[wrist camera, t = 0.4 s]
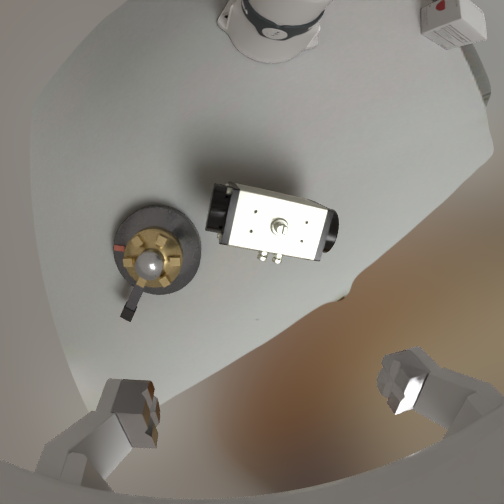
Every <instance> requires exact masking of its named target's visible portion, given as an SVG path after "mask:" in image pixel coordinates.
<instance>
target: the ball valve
mask: <svg viewBox="0 0 504 504" xmlns="http://www.w3.org/2000/svg"><path fill="white" fill-rule="evenodd" d="M338 229H339V219H338V215H337V213H336V211H335V210H333V209H329V208H327V207H325V206H323V205H321V204H319V203H317V202H314V201H312V200H309V199H305V198H301V197H297V196H292V195H288V194H284V193H279V192H275V191H270V190H266V189H261V188H257V187H252V186H247V185H243V184H238V183H233V182H229V184H225V185H222V184H216V183H215V184H214V186H213V191H212V195H211V200H210V205H209V210H208V215H207V221H206V227H205V230H206V231H210V232H216V233H218V235H217V238H219V244H223V245H228V246H234V247H239V248H245V249H251V250H256V251H259V255H258V257H257V258H258V259H259V260H262V261H266V259H267V255H268V253H273V254H274V257H273V259H272V261H273V262H275V263H281V261H282V259H280V258H282V257H283V255H284V256H290V257H296V258H301V259H307V260H315V261H320V259H321V255H322V252H323V253H326V252H328V251H329V250H330V249H331V248H332V247H333V245H334V243H335V241H336V238H337V234H338Z"/></svg>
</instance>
